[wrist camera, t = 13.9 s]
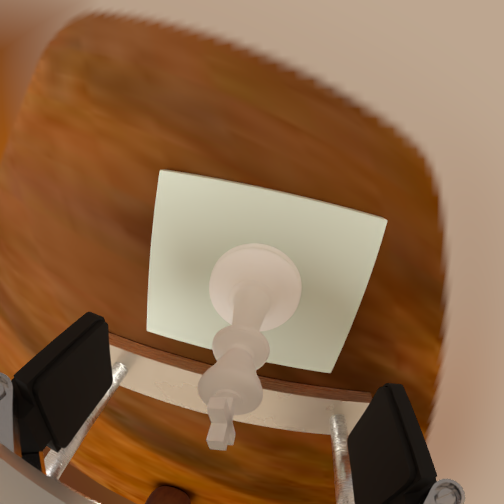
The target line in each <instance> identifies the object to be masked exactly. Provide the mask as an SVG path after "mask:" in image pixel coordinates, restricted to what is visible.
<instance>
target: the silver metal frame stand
mask: <svg viewBox="0 0 504 504" xmlns="http://www.w3.org/2000/svg"><path fill="white" fill-rule="evenodd" d="M109 345H110V356H111V366H112V375H113V382H112V385H111V387H110V389H109V390H108V391H107V393H106V394H105V395H104V397H103V398H102V399H101V401H100V402H99V403H98V405H97V406H96V407H95V409H94V410H93V412H92V413H91V414H90V416H89V417H88V418H87V420H86V421H85V423H84V424H83V425H82V427H81V428H80V430H79V431H78V432H77V434H76V435H75V437H74V438H73V439H72V441H71V442H70V444H69V445H68V446H67V447H66V448H61V450H60V451H59V452H58V453H57V452H55V451H54V450H52V449H51V450H50V452H49V453H48V455H47V456H46V457H45V459H44V463H45V468H46V473H47V476H48V477H50V478H51V479H53V480H55V481H56V482H58V483H60V484H61V485H63V486H65V487H66V488H68V489H70V490H72V491H73V492H75V493H77V494H79V495H80V496H82V497H84V498H86V499H88V500H90V501H92V502H94V503H96V504H102V503H100V502H98V501H95V500H93V499H92V498H90V497H88V496H86V495H84V494H82V493H80V492H78V491H76V490H75V489H73V488H71V487H69V486H67V485H66V484H64V483H62V482H61V481H59V480H58V479H59V477H60V476H61V474H62V472H63V471H64V469H65V467H66V466H67V464H68V463H69V461H70V460H71V458H72V456H73V455H74V453H75V452H76V450H77V449H78V447H79V445H80V444H81V442H82V441H83V439H84V438H85V436H86V435H87V433H88V431H89V430H90V428H91V427H92V425H93V424H94V422H95V421H96V419H97V418H98V416H99V415H100V413H101V412H102V410H103V409H104V407H105V406H106V404H107V403H108V401H109V400H110V398H111V397H112V395H113V394H114V392H115V391H116V389H117V388H118V386H119V385H120V386H123V387H125V388H128V389H131V390H133V391H136V392H139V393H141V394H144V395H147V396H150V397H153V398H156V399H159V400H162V401H165V402H168V403H171V404H174V405H177V406H181V407H184V408H187V409H191V410H194V411H198V412H202V413H206V414H208V411H207V405H206V404H205V403H204V402H203V401H202V399H201V398H200V396H199V393H198V382H199V380H200V378H201V376H202V375H203V374H204V373H205V372H206V371H207V370H208V369H209V368H210V367H212V366H213V365H210V364H206V363H202V362H198V361H195V360H191V359H188V358H184V357H181V356H177V355H174V354H171V353H167V352H164V351H161V350H158V349H155V348H151V347H148V346H145V345H142V344H139V343H137V342H134V341H131V340H128V339H125V338H122V337H120V336H117V335H114V334H112V333H109ZM258 378H259V380H260V383H261V386H262V390H263V399H262V402H261V404H260V405H259V406H258V407H257V408H256V409H255V410H254V411H252V412H250V413H247V414H243V415H234V417H233V420H235V421H239V422H244V423H249V424H254V425H260V426H265V427H271V428H278V429H284V430H291V431H299V432H308V433H317V434H328V435H331V443H332V454H333V465H334V478H335V493H336V504H355V503H354V493H353V484H352V475H351V467H350V459H349V452H348V444H347V440H348V436H349V434H350V433H351V431H352V430H353V428H354V427H355V425H356V424H357V422H358V421H359V419H360V418H361V416H362V415H363V413H364V411H365V410H366V408H367V407H368V405H369V404H370V402H371V400H372V397H371V393H370V392H363V391H353V390H344V389H335V388H327V387H320V386H313V385H306V384H300V383H294V382H288V381H282V380H277V379H272V378H267V377H262V376H258Z"/></svg>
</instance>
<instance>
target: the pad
mask: <svg viewBox="0 0 504 504" xmlns="http://www.w3.org/2000/svg"><path fill="white" fill-rule="evenodd" d="M387 221H388V220H386V219H385V218H383V217H380V216H376V215H373V214H369V213H366V212H362V211H358V210H355V209H351V208H347V207H344V206H340V205H336V204H332V203H328V202H324V201H320V200H316V199H312V198H308V197H304V196H299V195H295V194H291V193H286V192H282V191H278V190H273V189H268V188H264V187H259V186H254V185H249V184H244V183H240V182H234V181H229V180H224V179H219V178H213V177H208V176H202V175H197V174H191V173H185V172H179V171H172V170H166V169H165V170H160V172H159V179H158V186H157V194H156V202H155V210H154V219H153V228H152V239H151V251H150V264H149V280H148V302H147V331H149V332H152V333H155V334H159V335H162V336H165V337H168V338H172V339H175V340H179V341H182V342H186V343H189V344H193V345H196V346H200V347H204V348H208V349H212V350H213V348H212V342H213V339H214V336H215V335H216V333H217V332H218V331H219V330H221V329H222V328H224V327H227V326H230V325H231V324H229V323H228V322H226V321H225V320H224V319H223V318H222V317H221V316H220V315H219V314H218V313H217V311H216V310H215V308H214V306H213V304H212V302H211V299H210V294H209V281H210V277H211V273H212V270H213V267H214V265H215V264H216V262H217V261H218V259H219V258H220V257H221V256H222V255H223V254H224V253H226V252H227V251H228V250H230V249H232V248H234V247H236V246H239V245H243V244H249V243H259V244H265V245H269V246H272V247H274V248H276V249H278V250H280V251H282V252H283V253H284V254H286V255H287V256H288V257H289V258H290V259H291V260H292V261H293V263H294V264H295V266H296V267H297V269H298V271H299V274H300V277H301V282H302V292H301V297H300V301H299V304H298V307H297V309H296V311H295V312H294V314H293V315H292V316H291V317H290V318H289V319H288V320H287V321H286V322H285V323H283V324H282V325H280V326H278V327H276V328H274V329H271V330H267V331H260V332H261V333H262V334H263V335H264V336H265V338H266V339H267V341H268V343H269V347H270V353H269V357H268V359H267V360H266V362H268V363H273V364H278V365H284V366H289V367H295V368H300V369H306V370H312V371H319V372H325V373H331V371H332V369H333V367H334V365H335V363H336V361H337V358H338V356H339V354H340V352H341V349H342V347H343V345H344V342H345V340H346V338H347V335H348V333H349V331H350V328H351V326H352V323H353V321H354V318H355V316H356V313H357V311H358V308H359V305H360V303H361V300H362V298H363V295H364V292H365V289H366V287H367V284H368V281H369V278H370V275H371V272H372V269H373V266H374V263H375V260H376V257H377V254H378V251H379V248H380V245H381V241H382V238H383V235H384V232H385V228H386V225H387Z"/></svg>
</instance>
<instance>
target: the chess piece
mask: <svg viewBox="0 0 504 504" xmlns="http://www.w3.org/2000/svg"><path fill="white" fill-rule="evenodd" d="M301 292H302V282H301V277H300V274H299V271H298V269H297V267H296V266H295V264H294V263H293V261H292V260H291V259H290V258H289V257H288V256H287V255H286V254H284V253H283V252H282V251H280V250H278V249H276V248H274V247H272V246H269V245H265V244H259V243H249V244H243V245H239V246H236V247H234V248H232V249H230V250H228V251H227V252H226V253H224V254H223V255H222V256H221V257H220V258H219V259H218V261H217V262H216V264H215V265H214V267H213V270H212V273H211V277H210V281H209V294H210V299H211V302H212V304H213V306H214V308H215V310H216V311H217V313H218V314H219V315H220V316H221V317H222V318H223V319H224V320H225V321H226V322H228V323H229V324H231V325H230V326H227V327H224V328H222V329H221V330H219V331H218V332H217V333H216V335H215V336H214V339H213V342H212V348H213V354H214V357H215V359H216V360H217V362H216V363H215V364H214V365H213V366H212V367H210V368H209V369H208V370H207V371H206V372H205V373H204V374H203V375H202V376H201V378H200V380H199V382H198V393H199V396H200V398H201V399H202V401H203V402H204V403H205V404H206V405H207V411H208V414H209V417H210V420H211V426H210V429H209V433H208V436H207V439H206V441H207V443H208V446H209V448H210V449H215V450H226V448H227V445H233V444H234V439H235V430H234V427H233V423H232V421H233V417H234V415H243V414H247V413H250V412H252V411H254V410H255V409H256V408H257V407H258V406H259V405H260V404H261V402H262V399H263V390H262V386H261V383H260V380H259V378H258V376H257V373H256V370H258V369H259V368H261V367H262V366H263V365H264V363H265V362H266V360H267V359H268V357H269V353H270V347H269V343H268V341H267V339H266V338H265V336H264V335H263V334H262V333H261V332H260V331H267V330H271V329H274V328H276V327H278V326H280V325H282V324H283V323H285V322H286V321H287V320H288V319H289V318H290V317H291V316H292V315H293V314H294V312H295V311H296V309H297V307H298V304H299V301H300V297H301Z"/></svg>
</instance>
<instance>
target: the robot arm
mask: <svg viewBox="0 0 504 504" xmlns="http://www.w3.org/2000/svg"><path fill="white" fill-rule="evenodd" d="M112 382H113V375H112V366H111V356H110V345H109V331H108V324H107V323H106V322H105V319H104V318H103V317H102V316H99V315H97V314H94V313H92V312H87V313H86V314H84V315H83V316H82V317H81V318H79V319H78V320H77V321H76V322H75V323H73V324H72V325H71V326H70V327H69V328H67V329H66V330H65V331H64V332H63V333H61V334H60V335H59V336H58V337H57V338H55V339H54V340H53V341H52V342H51V343H50V344H48V345H47V346H46V347H45V348H44V349H43V350H42V351H40V352H39V353H38V354H37V355H36V356H35V357H34V358H32V359H31V360H30V361H29V362H28V363H27V364H26V365H25V366H23V367H22V368H21V369H20V370H19V371H18V372H17V373H16V374H15V375H14V378H13V379H12V380H10V378H9V377H8V376H6V375H5V374H3V373H0V504H96V503H94V502H92V501H90V500H88V499H86V498H84V497H82V496H80V495H79V494H77V493H75V492H73V491H72V490H70V489H68V488H66V487H65V486H63V485H61V484H60V483H58V482H56V481H55V480H53V479H51V478H50V477H48V476H47V473H46V468H45V463H44V457H43V449H44V448H45V447H46V446H48V447H49V448H51V449H52V450H54V451H55V452H57V453H58V452H59V451H60V450H61V448H66V447H67V446H68V445H69V444H70V442H71V441H72V439H73V438H74V437H75V435H76V434H77V432H78V431H79V430H80V428H81V427H82V425H83V424H84V423H85V421H86V420H87V418H88V417H89V416H90V414H91V413H92V412H93V410H94V409H95V407H96V406H97V405H98V403H99V402H100V401H101V399H102V398H103V397H104V395H105V394H106V393H107V391H108V390H109V389H110V387H111V385H112ZM347 444H348V452H349V459H350V467H351V475H352V484H353V493H354V503H355V504H464V501H465V493H464V491H463V488H462V487H461V486H460V485H459V484H458V483H457V482H456V481H454V480H451V479H442V480H439V481H436V478H435V477H436V476H437V474H436V471H435V468H434V465H433V462H432V459H431V456H430V453H429V450H428V448H427V445H426V442H425V439H424V437H423V434H422V431H421V429H420V426H419V424H418V421H417V418H416V416H415V413H414V411H413V408H412V406H411V404H410V401H409V399H408V396H407V394H406V392H405V389H404V387H403V385H401V384H392V383H386V384H385V385H384V386H383V387H380V388H379V389H378V390H377V392H376V394H375V395H374V397H373V399H372V400H371V402H370V404H369V405H368V407H367V408H366V410H365V411H364V413H363V415H362V416H361V418H360V419H359V421H358V422H357V424H356V425H355V427H354V428H353V430H352V431H351V433H350V434H349V436H348V440H347Z"/></svg>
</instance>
